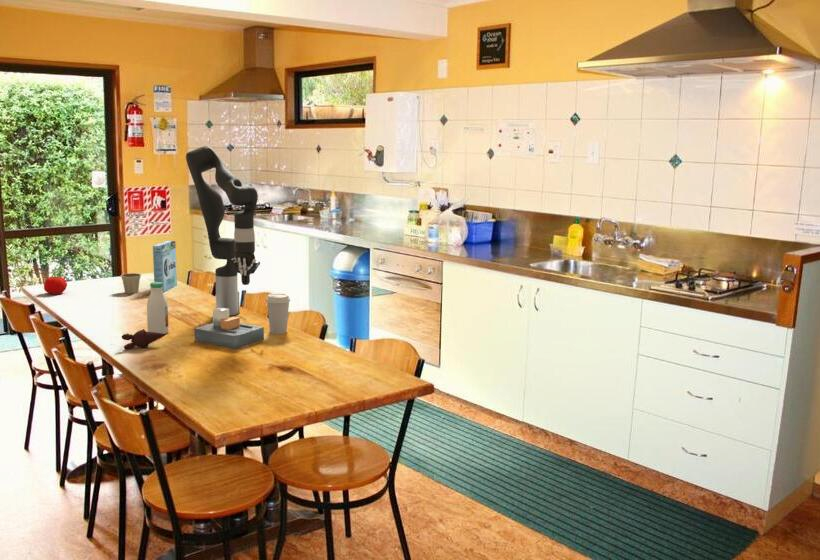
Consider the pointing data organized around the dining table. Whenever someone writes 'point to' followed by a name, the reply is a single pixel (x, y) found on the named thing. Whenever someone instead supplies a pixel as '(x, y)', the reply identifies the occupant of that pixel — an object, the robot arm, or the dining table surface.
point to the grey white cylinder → (219, 316)
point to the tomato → (55, 285)
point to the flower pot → (131, 282)
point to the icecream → (141, 339)
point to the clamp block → (230, 323)
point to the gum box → (165, 264)
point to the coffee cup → (278, 312)
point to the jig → (229, 335)
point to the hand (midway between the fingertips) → (245, 284)
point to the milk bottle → (157, 310)
